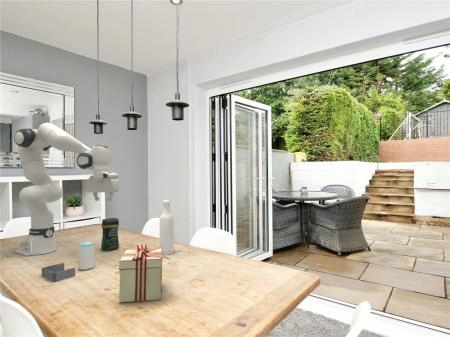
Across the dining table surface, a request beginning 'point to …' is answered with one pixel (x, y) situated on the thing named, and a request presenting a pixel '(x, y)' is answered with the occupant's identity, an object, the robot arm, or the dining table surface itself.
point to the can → (86, 256)
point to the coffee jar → (110, 234)
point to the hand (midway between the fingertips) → (103, 200)
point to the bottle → (167, 230)
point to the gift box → (141, 274)
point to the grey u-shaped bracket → (57, 272)
